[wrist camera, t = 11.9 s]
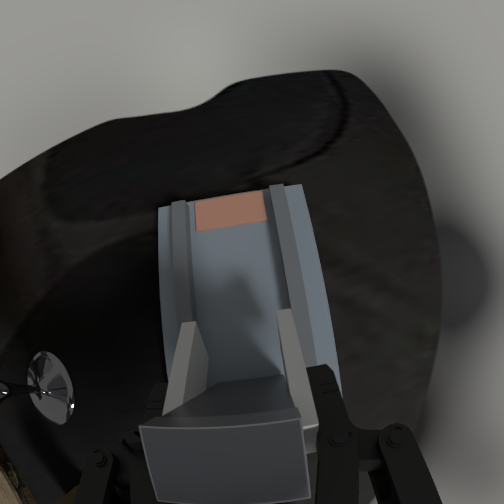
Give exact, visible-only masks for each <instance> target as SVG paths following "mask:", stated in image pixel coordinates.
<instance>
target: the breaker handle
mask: <svg viewBox="0 0 504 504" xmlns="http://www.w3.org/2000/svg"><path fill="white" fill-rule="evenodd" d="M139 430H140V435H141V440H142V445H143V449H144V454H145V458H146V462H147V466H148V470H149V474H150V477H151V481H152V485H153V488H154V491H155V495H156V498H157V501H160V502H168V503H177V504H271V503H281V502H289V501H296V500H302V499H308V498H311V493H310V483H309V474H308V466H307V457H306V449H305V441H304V433H303V425H302V417H301V415H300V412H299V410H298V407H295V405H294V402H293V400H292V397H291V395H290V392H289V389H288V386H287V383H286V380H285V377H284V374H282V375H276V376H269V377H261V378H253V379H245V380H235V381H224V382H218V383H217V384H215V385H214V386H212V387H210V388H209V389H207V390H206V391H204V392H202V393H201V394H199V395H197V396H196V397H194V398H192V399H191V400H189V401H187V402H186V403H184V404H182V405H180V406H179V407H177V408H175V409H173V410H172V411H170V412H168V413H166V414H165V415H163V416H161V417H154V418H153V419H151V420H149V421H147V422H145V423H143V424H141V425H139Z"/></svg>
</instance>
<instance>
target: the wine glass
mask: <svg viewBox="0 0 504 504" xmlns="http://www.w3.org/2000/svg"><path fill="white" fill-rule="evenodd" d="M25 382H26V385H18V384H12V383H7V382H4V381H2V380H0V404H1V402H3V401H4V400H5V399H6V398H9V397H13V396H17V395H22V394H28V396H29V399H30V401H31V403H32V405H33V407H34V409H35V410H36V412H37V413H38V414H39V415H40V416H41V417H42V418H43V419H44V420H45V421H47V422H49V423H51V424H54V425H62V424H64V423H66V422H67V421H68V420H69V419H70V418H71V416H72V413H73V410H74V404H75V396H74V389H73V385H72V381H71V378H70V376H69V374H68V371H67V369H66V368H65V366H64V365H63V363H62V362H61V361H60V359H58V358H57V357H56V356H55V355H54V354H52V353H50V352H48V351H39V352H37V353H35V354H34V355H33V356H32V357H31V358H30V359H29V362H28V364H27V367H26V373H25Z"/></svg>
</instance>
